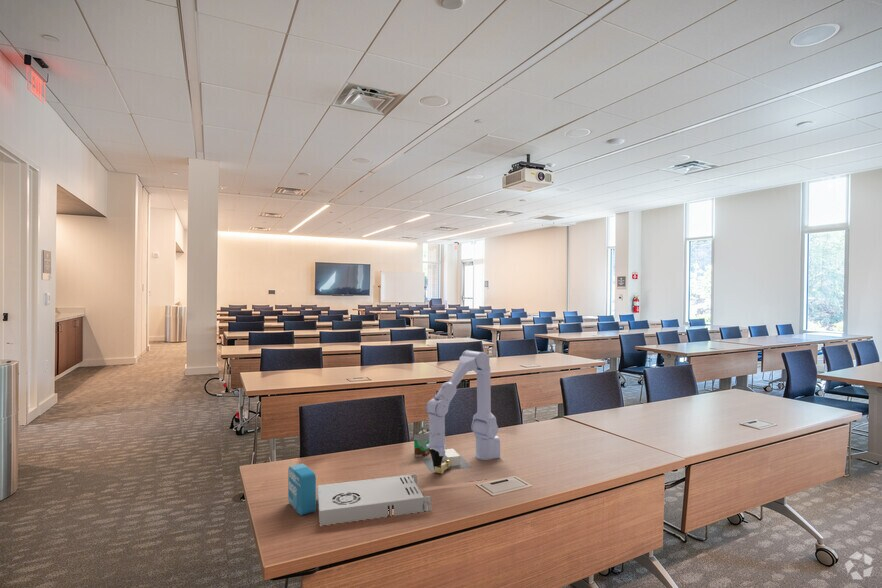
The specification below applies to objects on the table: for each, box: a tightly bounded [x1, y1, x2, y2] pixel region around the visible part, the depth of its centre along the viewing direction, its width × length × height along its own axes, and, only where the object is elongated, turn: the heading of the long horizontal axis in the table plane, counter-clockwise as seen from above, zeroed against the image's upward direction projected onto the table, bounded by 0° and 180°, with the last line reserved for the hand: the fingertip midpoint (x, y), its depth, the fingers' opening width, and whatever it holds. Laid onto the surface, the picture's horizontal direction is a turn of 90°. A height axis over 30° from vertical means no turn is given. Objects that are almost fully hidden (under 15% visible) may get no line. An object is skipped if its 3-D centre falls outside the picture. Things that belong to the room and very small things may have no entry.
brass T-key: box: [434, 459, 452, 474], centre depth 170 cm, size 8×3×3 cm, turn 148°
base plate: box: [421, 455, 472, 473], centre depth 178 cm, size 16×14×1 cm
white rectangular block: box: [442, 448, 461, 466], centre depth 179 cm, size 5×9×4 cm, turn 16°
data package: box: [287, 463, 317, 516], centre depth 143 cm, size 12×4×12 cm, turn 37°
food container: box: [413, 426, 431, 458], centre depth 190 cm, size 12×6×10 cm, turn 168°
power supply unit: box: [317, 473, 432, 526], centre depth 145 cm, size 19×33×5 cm, turn 107°
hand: (437, 469), depth 169 cm, fingers closed, pressing on brass T-key
